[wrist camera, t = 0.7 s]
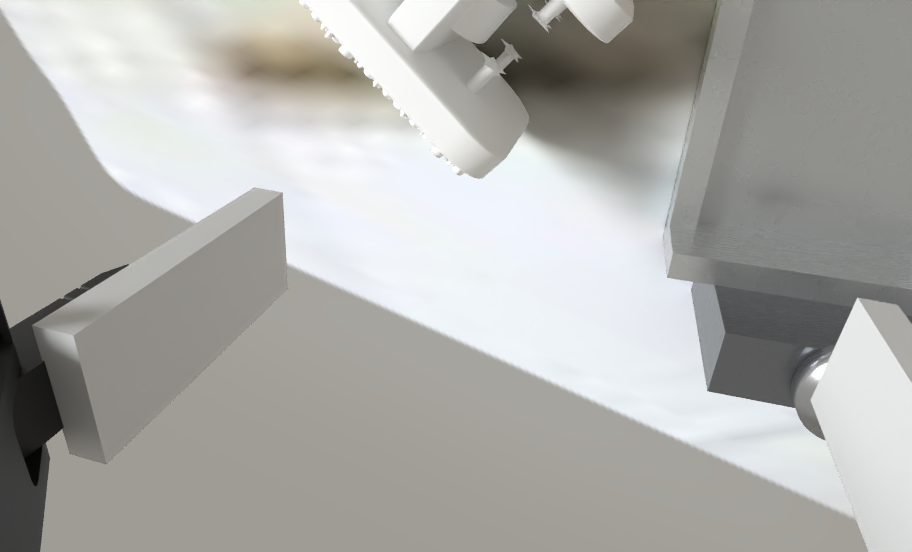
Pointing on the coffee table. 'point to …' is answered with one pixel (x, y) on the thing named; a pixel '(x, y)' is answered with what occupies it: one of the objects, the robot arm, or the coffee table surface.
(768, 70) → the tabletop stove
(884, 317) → the robot arm
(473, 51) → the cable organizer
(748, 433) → the coffee table surface
